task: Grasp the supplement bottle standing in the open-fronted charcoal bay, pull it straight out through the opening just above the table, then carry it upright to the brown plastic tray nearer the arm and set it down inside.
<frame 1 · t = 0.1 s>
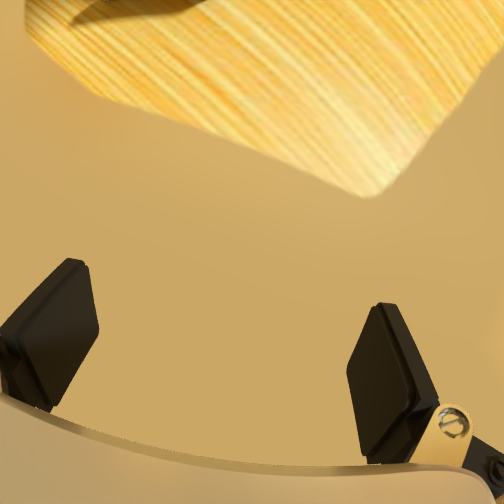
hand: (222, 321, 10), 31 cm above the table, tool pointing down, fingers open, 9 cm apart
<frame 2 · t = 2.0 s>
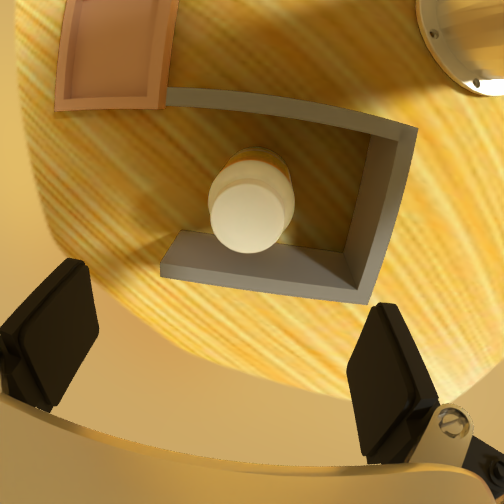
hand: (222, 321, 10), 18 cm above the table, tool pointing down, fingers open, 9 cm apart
supplement bottle: (256, 177, 26), on the table
tray: (117, 41, 20), on the table
bay: (256, 177, 25), on the table
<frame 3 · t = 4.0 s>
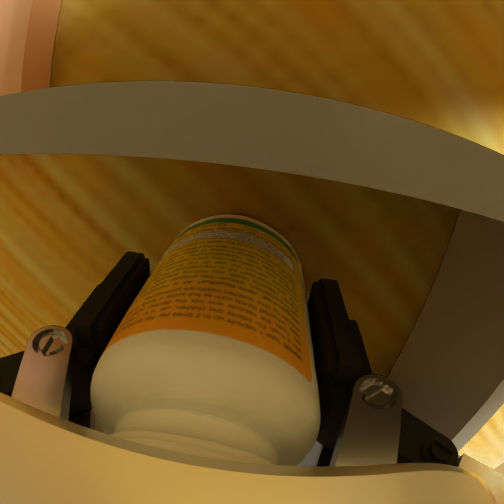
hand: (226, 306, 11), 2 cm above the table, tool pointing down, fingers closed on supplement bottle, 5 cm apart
supplement bottle: (233, 272, 13), on the table, touching gripper
bay: (232, 274, 12), on the table
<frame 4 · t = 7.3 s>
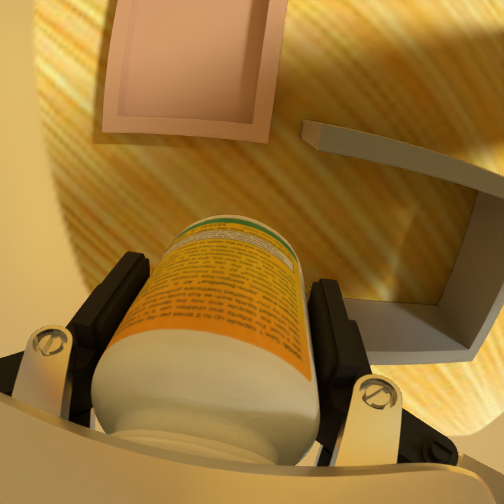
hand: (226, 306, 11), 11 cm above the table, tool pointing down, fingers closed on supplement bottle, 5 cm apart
supplement bottle: (233, 272, 13), point 9 cm above the table, touching gripper
tray: (197, 41, 16), on the table
bay: (370, 232, 21), on the table
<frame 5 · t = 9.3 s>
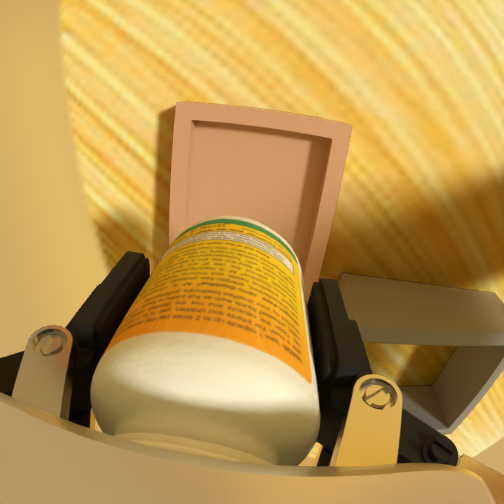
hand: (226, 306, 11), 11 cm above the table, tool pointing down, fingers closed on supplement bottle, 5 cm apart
supplement bottle: (232, 273, 13), point 9 cm above the table, touching gripper
tray: (252, 201, 21), on the table
bay: (383, 345, 26), on the table
when the fingers open (4 cm above the table, at t = 11.0 s): supplement bottle drops 1 cm, resting on tray.
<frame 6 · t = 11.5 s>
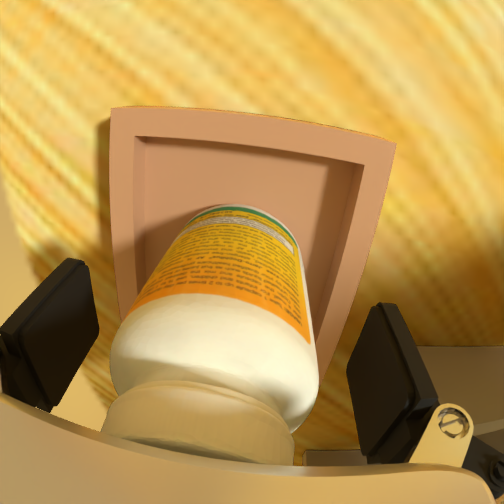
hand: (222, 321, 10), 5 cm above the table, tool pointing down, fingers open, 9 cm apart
supplement bottle: (237, 258, 14), resting on tray
tray: (237, 254, 14), on the table
bay: (402, 412, 19), on the table
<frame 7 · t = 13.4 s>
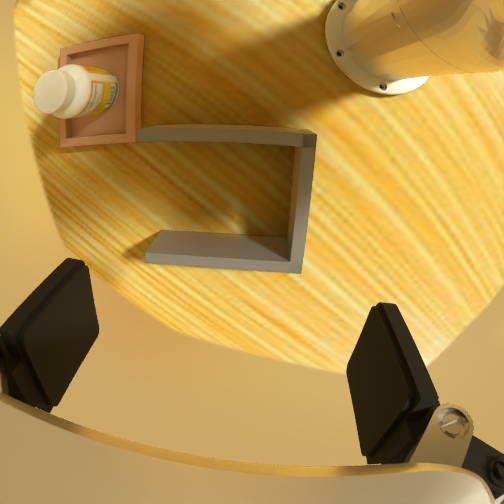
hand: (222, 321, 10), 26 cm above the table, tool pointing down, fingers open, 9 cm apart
supplement bottle: (100, 91, 29), resting on tray
tray: (101, 91, 29), on the table
bay: (212, 185, 34), on the table
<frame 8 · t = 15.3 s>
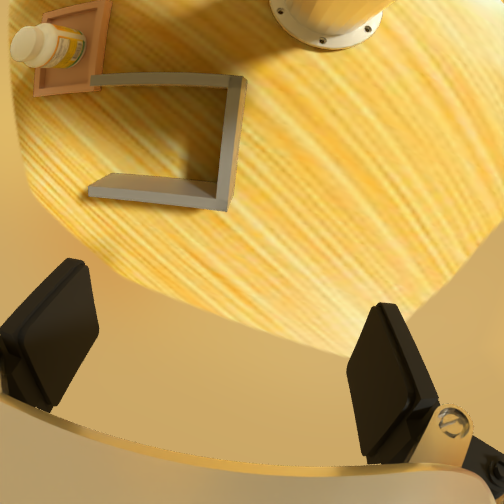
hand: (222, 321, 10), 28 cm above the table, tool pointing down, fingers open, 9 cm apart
supplement bottle: (71, 49, 29), resting on tray
tray: (73, 49, 29), on the table
bay: (157, 131, 34), on the table
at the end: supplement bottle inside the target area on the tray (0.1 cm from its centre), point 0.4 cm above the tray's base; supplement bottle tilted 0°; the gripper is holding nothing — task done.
